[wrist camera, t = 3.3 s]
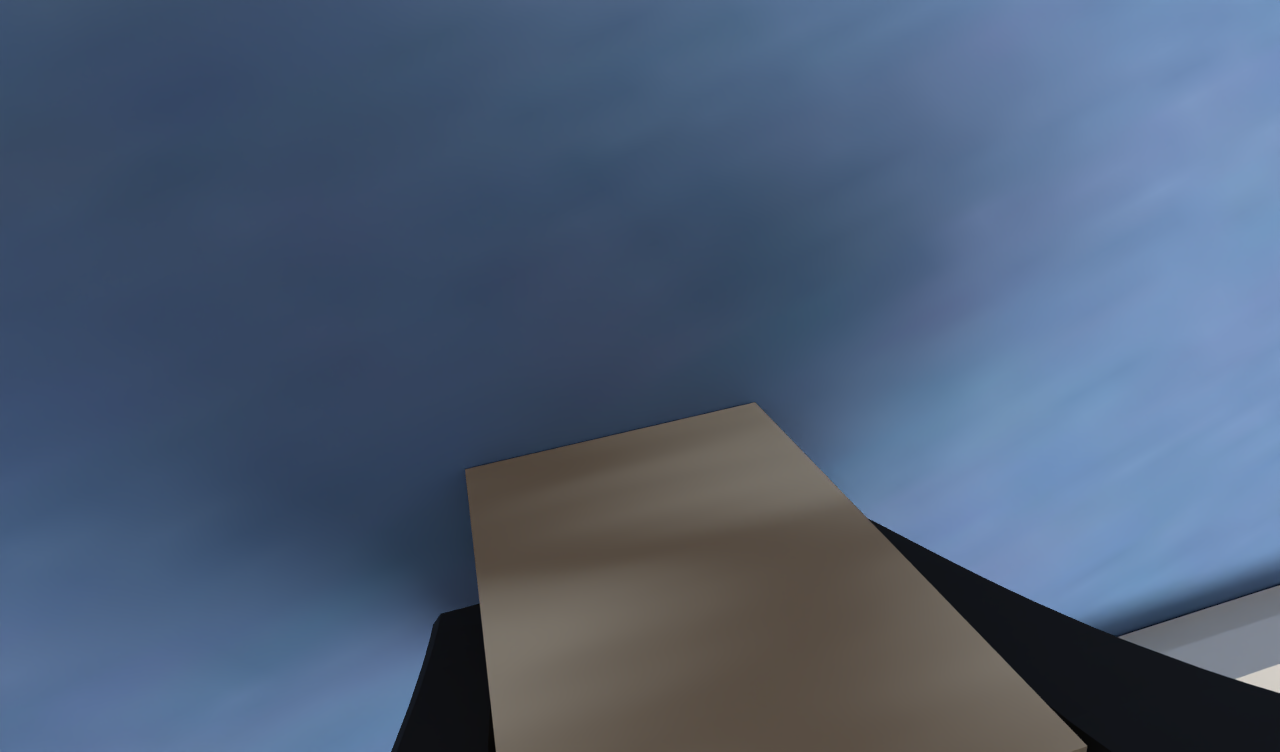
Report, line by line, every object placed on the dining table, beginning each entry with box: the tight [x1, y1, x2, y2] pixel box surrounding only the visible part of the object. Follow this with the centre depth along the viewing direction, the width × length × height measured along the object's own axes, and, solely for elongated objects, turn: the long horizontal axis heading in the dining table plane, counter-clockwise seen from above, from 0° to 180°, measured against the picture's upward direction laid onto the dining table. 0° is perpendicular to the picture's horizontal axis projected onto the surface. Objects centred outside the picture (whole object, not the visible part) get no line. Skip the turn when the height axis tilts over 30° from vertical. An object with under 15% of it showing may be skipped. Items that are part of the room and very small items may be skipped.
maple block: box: [465, 402, 1087, 752], centre depth 9 cm, size 4×4×6 cm
